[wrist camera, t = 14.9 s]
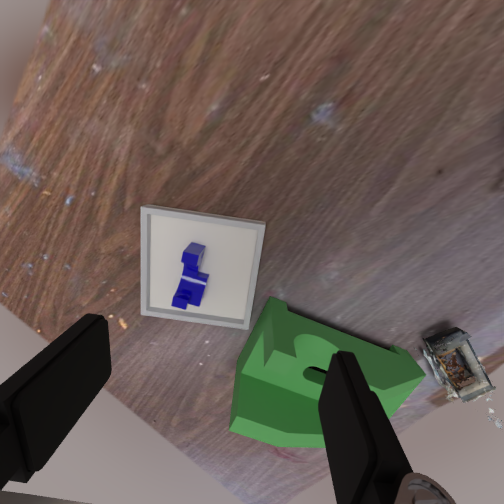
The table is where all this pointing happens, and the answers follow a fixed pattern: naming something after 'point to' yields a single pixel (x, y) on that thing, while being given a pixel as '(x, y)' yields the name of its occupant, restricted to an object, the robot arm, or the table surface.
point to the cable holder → (191, 278)
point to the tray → (214, 263)
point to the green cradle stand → (305, 377)
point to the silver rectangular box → (471, 363)
